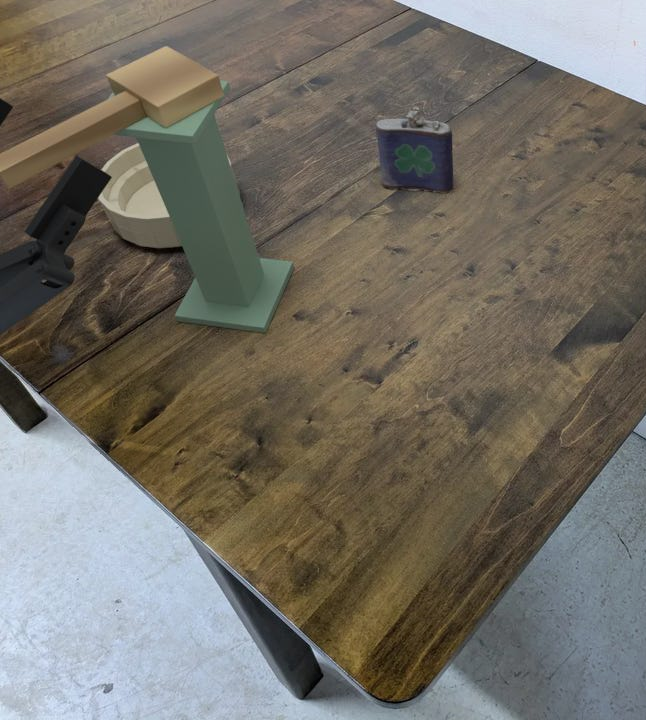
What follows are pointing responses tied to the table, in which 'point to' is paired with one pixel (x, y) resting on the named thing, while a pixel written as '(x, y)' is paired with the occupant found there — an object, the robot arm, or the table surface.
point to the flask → (415, 153)
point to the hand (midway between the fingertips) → (43, 128)
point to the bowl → (137, 201)
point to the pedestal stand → (210, 223)
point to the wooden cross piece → (119, 111)
